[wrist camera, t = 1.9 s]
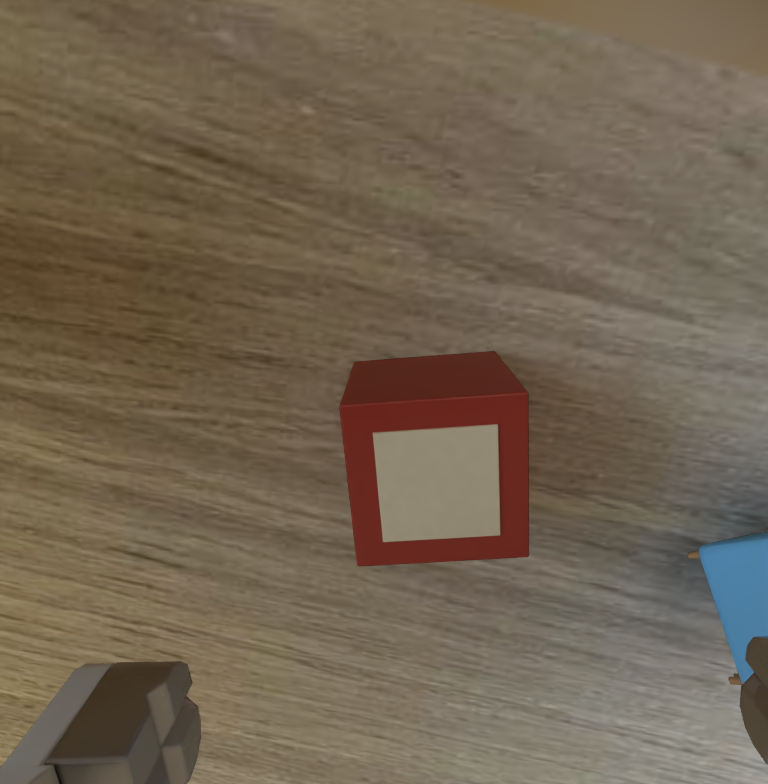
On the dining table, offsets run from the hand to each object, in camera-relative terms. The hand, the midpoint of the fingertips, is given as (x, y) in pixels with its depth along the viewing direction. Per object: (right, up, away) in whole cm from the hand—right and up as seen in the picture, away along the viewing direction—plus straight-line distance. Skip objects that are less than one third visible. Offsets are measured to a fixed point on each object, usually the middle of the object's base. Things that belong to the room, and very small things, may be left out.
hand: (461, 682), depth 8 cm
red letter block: (0, +3, +10) cm, 10 cm away
